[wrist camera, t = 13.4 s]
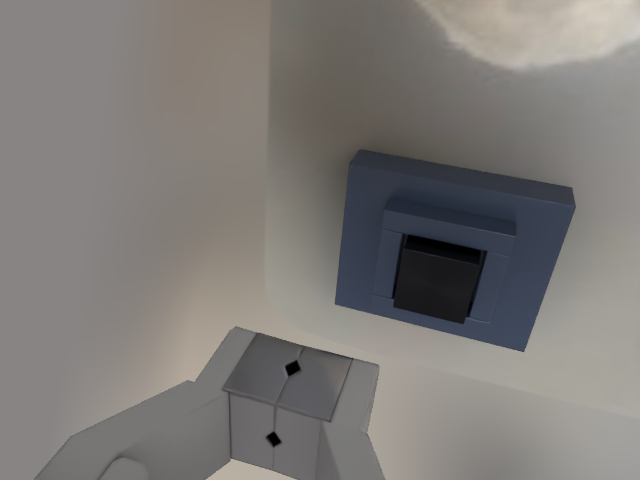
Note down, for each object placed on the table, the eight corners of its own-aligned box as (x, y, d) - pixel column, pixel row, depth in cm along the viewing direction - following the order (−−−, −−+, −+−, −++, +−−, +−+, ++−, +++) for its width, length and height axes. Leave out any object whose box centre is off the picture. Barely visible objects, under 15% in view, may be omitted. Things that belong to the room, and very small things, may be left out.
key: (397, 292, 32) (392, 307, 30) (408, 234, 30) (402, 248, 28) (466, 308, 31) (463, 325, 29) (481, 250, 29) (479, 265, 27)
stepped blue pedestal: (344, 284, 37) (327, 319, 34) (359, 148, 32) (341, 174, 29) (523, 328, 34) (524, 370, 31) (572, 187, 29) (579, 220, 26)
